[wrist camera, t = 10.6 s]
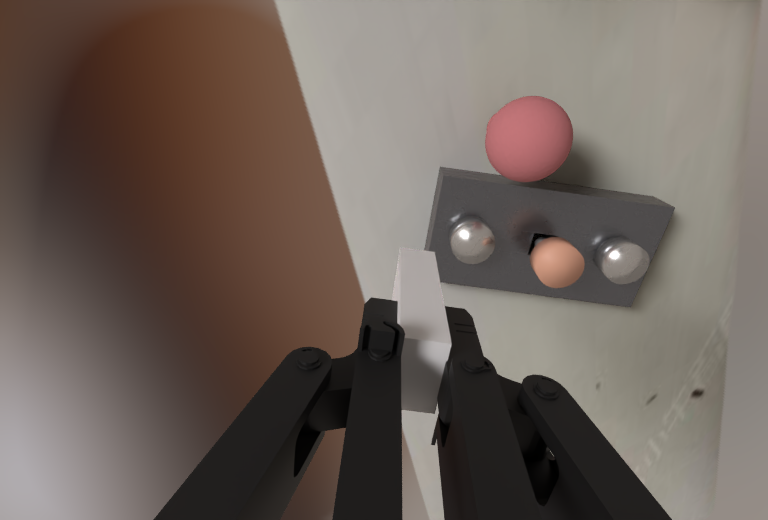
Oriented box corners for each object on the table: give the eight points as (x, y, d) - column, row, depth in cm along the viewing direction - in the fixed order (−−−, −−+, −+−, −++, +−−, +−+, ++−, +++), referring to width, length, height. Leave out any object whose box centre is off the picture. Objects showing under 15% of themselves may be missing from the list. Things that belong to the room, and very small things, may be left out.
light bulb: (552, 133, 44) (603, 155, 33) (494, 174, 46) (524, 208, 35) (517, 75, 41) (558, 78, 30) (457, 121, 43) (476, 139, 32)
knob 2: (527, 222, 44) (544, 243, 39) (567, 227, 44) (591, 250, 39) (516, 259, 46) (531, 284, 40) (555, 264, 46) (575, 290, 41)
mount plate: (439, 166, 45) (443, 175, 42) (653, 196, 46) (675, 207, 42) (421, 264, 50) (423, 279, 47) (614, 290, 51) (630, 307, 47)
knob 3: (589, 222, 47) (613, 242, 42) (626, 227, 47) (656, 248, 42) (576, 257, 49) (598, 281, 43) (612, 262, 49) (639, 286, 43)
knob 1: (449, 203, 47) (456, 221, 41) (488, 208, 47) (499, 227, 41) (442, 239, 48) (447, 261, 43) (479, 244, 49) (489, 266, 43)
